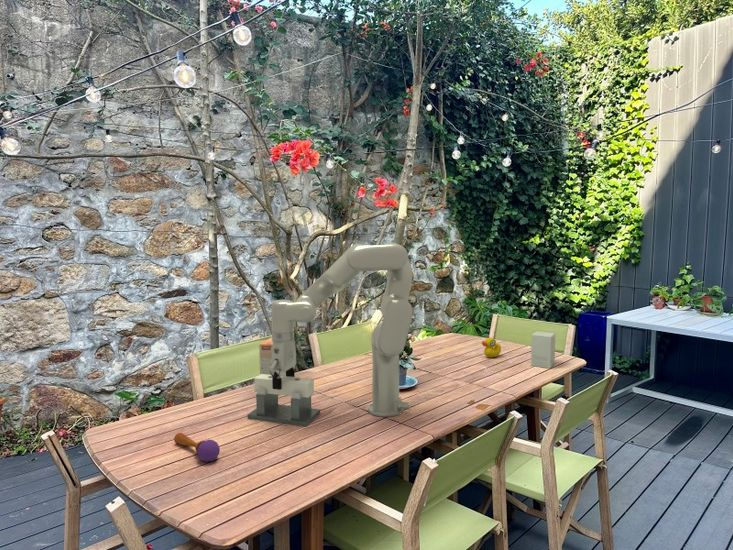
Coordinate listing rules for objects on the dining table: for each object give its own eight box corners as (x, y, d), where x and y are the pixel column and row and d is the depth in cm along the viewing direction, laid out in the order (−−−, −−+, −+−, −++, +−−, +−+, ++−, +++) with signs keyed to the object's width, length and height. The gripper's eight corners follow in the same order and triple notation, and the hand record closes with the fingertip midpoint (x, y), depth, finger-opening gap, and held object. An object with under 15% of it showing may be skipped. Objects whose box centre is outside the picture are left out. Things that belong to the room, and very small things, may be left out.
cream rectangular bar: (313, 392, 180) (313, 378, 179) (308, 397, 175) (308, 382, 175) (261, 387, 185) (261, 373, 185) (254, 392, 180) (254, 377, 180)
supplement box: (554, 364, 245) (556, 332, 243) (550, 368, 237) (551, 336, 235) (535, 361, 250) (536, 330, 248) (530, 365, 242) (531, 334, 240)
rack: (320, 413, 183) (320, 384, 182) (306, 426, 172) (305, 396, 171) (264, 406, 190) (264, 378, 189) (247, 418, 179) (246, 389, 178)
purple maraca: (189, 427, 162) (224, 440, 149) (187, 446, 162) (222, 462, 148) (170, 429, 158) (205, 443, 145) (168, 449, 158) (203, 465, 144)
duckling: (485, 360, 251) (486, 340, 250) (478, 357, 256) (478, 337, 255) (503, 357, 257) (504, 337, 255) (495, 354, 261) (496, 335, 260)
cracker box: (274, 397, 199) (273, 344, 197) (259, 396, 201) (258, 343, 198) (286, 386, 213) (286, 336, 211) (273, 385, 214) (272, 335, 212)
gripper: (281, 342, 169) (282, 394, 171) (303, 331, 185) (304, 378, 187) (260, 341, 171) (261, 391, 173) (284, 330, 187) (285, 376, 189)
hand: (283, 384), depth 180 cm, fingers open, 9 cm apart
